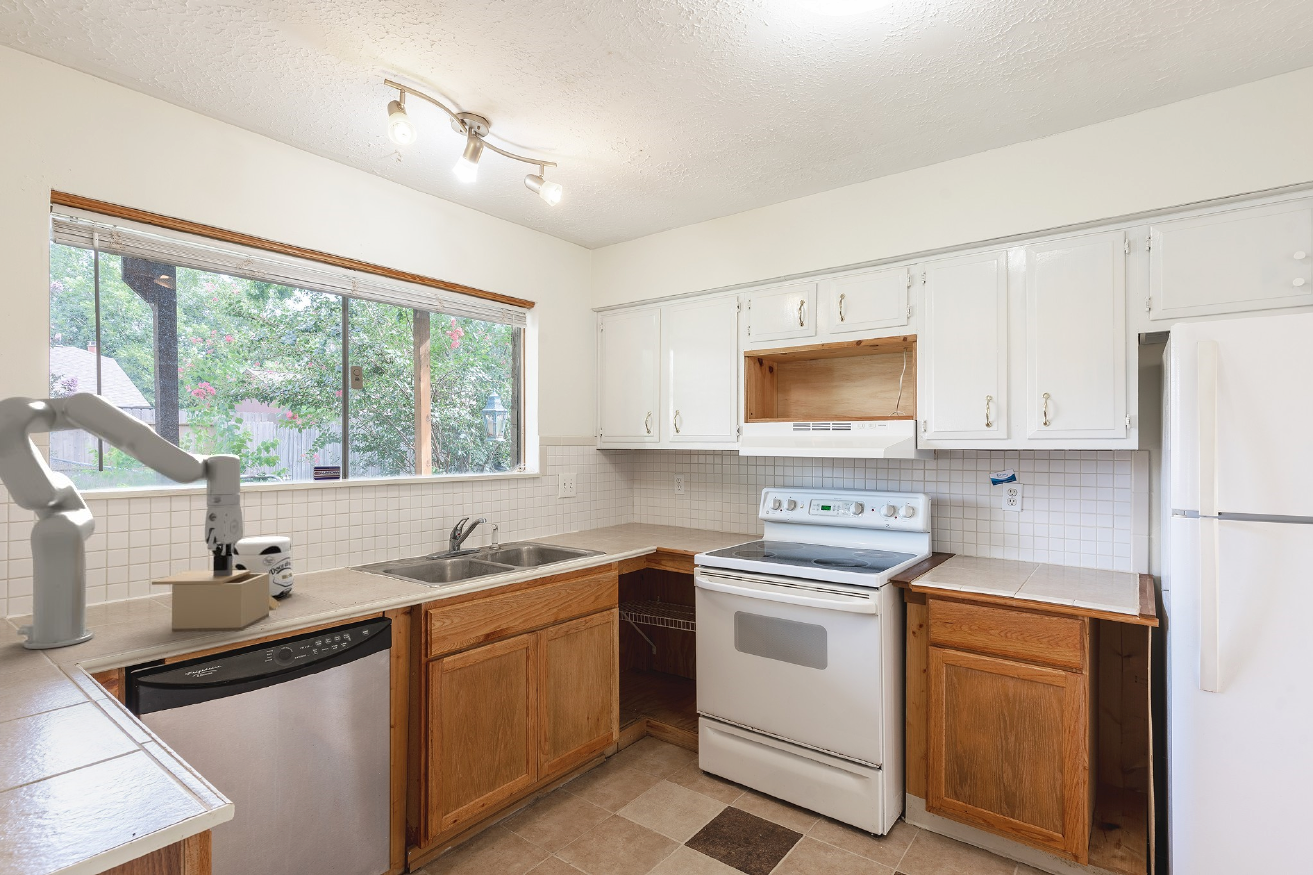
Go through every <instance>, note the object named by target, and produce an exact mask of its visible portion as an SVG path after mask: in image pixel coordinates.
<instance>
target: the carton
mask: <svg viewBox="0 0 1313 875" xmlns="http://www.w3.org/2000/svg"><path fill="white" fill-rule="evenodd" d="M268 617H270V610H269V573H249V574H247V575H244V576H241V577H239V578H236V579H233V580H230V581H228V582H225V583H222V584H171V632H172V633H174V632H181V633H182V632H226V631H227V632H229V631H234V632H235V631H237V632H239V631H240V632H241V631H243V630H245V629H247V628H249V627H251V626H253V625H255V624H256V623H258V622H260V620H261V621H262V620H264V619H266V618H268Z"/></svg>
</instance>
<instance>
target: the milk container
mask: <svg viewBox="0 0 1313 875" xmlns="http://www.w3.org/2000/svg"><path fill="white" fill-rule="evenodd" d="M291 548H292V544H291V537H286V536H259V537H258V536H257V537H249V538H242V539H241V540H239V541H238V542H237V543H236V544H235V546H234V552H233V553H232V556H233V566H234V567H236V568H237V569H238V570H251V573H269V595H270V596H271V597H273V598H274V599H276V598H280V597H283V596H285V595H288V594H289V593H290V592H291V591H292V589H293V587H294V583H295V582H294V579H295V578H294V572H293V569H292V565H291V563H292V562H291V557H292V554H291V553H292V552H291V551H292V550H291Z"/></svg>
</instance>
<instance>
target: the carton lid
mask: <svg viewBox="0 0 1313 875" xmlns="http://www.w3.org/2000/svg"><path fill="white" fill-rule="evenodd" d="M212 562H213V568H214V556H213V561H212ZM249 573H251V570H233V555H232V556H227V570H219V571H215V570H214V569H212V570H185V571H183V572H179V573H176V574H172V575H169V576H166V577H163V578H159V579H156V580H153V581H151V586H154V585H155V586H160V585H161V586H164V585H173V584H222V583H225V582H228V581H230V580H233V579H236V578H239V577H241V576H244V575H247V574H249Z"/></svg>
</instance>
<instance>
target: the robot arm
mask: <svg viewBox="0 0 1313 875" xmlns="http://www.w3.org/2000/svg"><path fill="white" fill-rule="evenodd" d="M73 430H83V431H85V432H86V433H88V434H90V435H92V436H94V437H96V438H97V439H99V440H101V441H102V442H104V443H107V444H109V445H110V446H112V447H114V448H115V449H117V450H119V451H121V452H122V453H123V454H125V455H127V456H129V457H131V458H132V459H134V460H135V461H137V462H140V463H141V464H142V465H145V466H146V467H147V468H149V469H151V470H153V471H155V472H156V473H159V474H160V475H161V476H164V477H166V478H168V479H170V480H172V481H174V482H176V483H178V484H184V485H185V484H186V485H187V484H192V483H195V482H200V481H201V482H202V481H206V507H207V508H206V514H205V515H206V516H205V522H204V523H205V524H204V540H205V541H204V542H205V544H207V550H210V551H211V553H212V556H213V557H214V568H213V569H214V570H215V571H219V570H227V556H233V552H234V546H235V544H236V543H237V542H238V541H239V540H241V539H244V538H243V537H244V522H243V515H242V514H243V513H242V507H241V459H240V457H239V456H238V455H236V454H212V455H204V454H194V453H189V452H187V451H185V450H183V449H182V448H180V447H178V446H176V445H175V444H173V443H172V442H170V441H168V440H166V439H165V438H163V437H162V436H160V435H159V434H158V433H157V432H156V431H155V430H154V429H153V428H152V427H151V426H150V425H149V424H147V423H146V422H144V421H143V420H140V419H138V418H137V417H135V416H133V415H131V414H129V413H128V412H126V411H125V410H122V409H121V408H119V407H118V406H116V405H114V404H112V403H111V402H110V400H108V399H107V398H106V397H105V396H102V395H99V394H95V393H92V392H77V393H75V394H72V395H70V396H67V397H53V398H52V397H50V398H32V397H31V398H30V397H25V396H13V397H8V398H4V399H2V400H0V480H1V482H2V483H3V485H4V486H5V488H6V490H7V492H8V493H9V495H10V497H11V499H12V500H13V501H14V503H15V505H17V506H18V507H20V508H21V509H22V510H23V509H24V510H27V511H34V513H35V514H36V516H37V518H39V519H38V520H37V521H36V522H35V524H34V525H33V527H32V529H31V532H30V540H29V541H30V547H31V548H30V549H31V554H32V557H31V558H32V624H23V625H21V627H20V628H19V629H18V630H17V632H16V634H17V635H18V636H19V635H20V636H22V635H27V639H26V640H24V641H23V647H24V648H25V649H29V650H43V649H45V650H46V649H53V648H60V647H66V646H72V645H75V644H79V643H83V642H86V641H88V640H89V641H90V640H91V639H92V638H94V637H95V636H94V635H95V634H94V633H95V632H94V631H93V630H91V629H86V628H87V627H86V623H87V621H86V618H87V615H86V614H87V612H86V611H87V559H86V558H87V557H86V550H85V549H86V548H85V542H86V541H88V539H90V538H91V537H92V535H93V534H94V532H95V530H96V522H95V518H94V516H93V515H92V513H91V511H90V509H89V507H88V505H87V504H86V502H85V501H84V499H83V497H82V496H81V494H80V492H79V491H78V489H77V487H76V485H75V484H74V482H72V480H71V479H70V478H69V477H68V476H67V475H66V474H64V473H63V472H60V471H57V470H52V469H50V467H49V465H48V464H47V463H46V461H45V459H44V458H43V455H42V454H41V451H40V450H39V449H38V447H37V446H36V445H35V443H34V442H33V441H32V438H31V435H30V434H41V433H43V434H44V433H52V432H61V431H73ZM213 569H212V570H213Z"/></svg>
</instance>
